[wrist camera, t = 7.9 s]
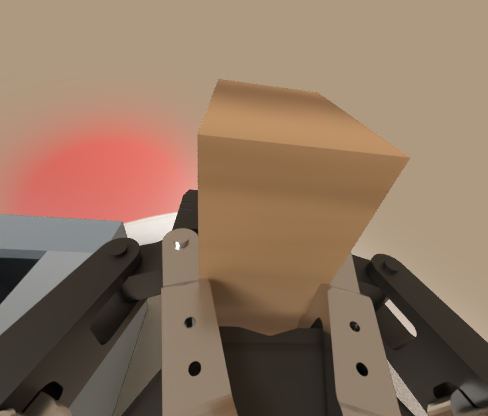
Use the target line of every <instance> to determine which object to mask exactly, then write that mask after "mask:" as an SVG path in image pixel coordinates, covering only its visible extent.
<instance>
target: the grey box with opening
mask: <svg viewBox="0 0 488 416" xmlns="http://www.w3.org/2000/svg"><path fill="white" fill-rule="evenodd" d="M117 238H127V234H126V231H125V228H124V225H123V222H122V221H107V220H90V219H89V220H88V219H73V218H55V217H39V216H22V215H4V214H0V335H1V334H2V333H3V332H4V331H5V330H7V329H8V328H9V327H10V326H11V325H12V324H13V323H15V322H16V321H17V320H18V319H19V318H20V317H21V316H23V315H24V314H25V313H26V312H27V311H28V310H29V309H31V308H32V307H33V306H34V305H35V304H36V303H37V302H39V301H40V300H41V299H42V298H43V297H44V296H45V295H47V294H48V293H49V292H50V291H51V290H52V289H53V288H55V287H56V286H57V285H58V284H59V283H60V282H61V281H62V280H64V279H65V278H66V277H67V276H68V275H69V274H70V273H72V272H73V271H74V270H75V269H76V268H77V267H78V266H80V265H81V264H82V263H83V262H84V261H85V260H86V259H88V258H89V257H90V256H91V255H92V254H93V253H94V252H96V251H97V250H98V249H99V248H100V247H101V246H102V245H104V244H105V243H107V242H109V241H111V240H113V239H117ZM147 308H148V304H147V300H146V301H145V303H144V304H143V305H142V307H141V308H140V310H139V311H138V312H137V314H136V315H135V317H134V318H133V319H132V321H131V322H130V324H129V325H128V326H127V328H126V329H125V331H124V332H123V333H122V335H121V336H120V338H119V339H118V340H117V342H116V343H115V345H114V346H113V347H112V349H111V350H110V351H109V353H108V354H107V356H106V357H105V358H104V360H103V361H102V363H101V364H100V365H99V367H98V368H97V370H96V371H95V372H94V374H93V375H92V377H91V378H90V379H89V381H88V382H87V384H86V385H85V386H84V388H83V389H82V391H81V392H80V393H79V395H78V396H77V398H76V399H75V400H74V402H73V403H72V404H71V406H70V407H69V409H70V411H71V414H72V416H113V413H114V410H115V407H116V404H117V401H118V397H119V394H120V391H121V388H122V385H123V382H124V379H125V376H126V373H127V370H128V367H129V364H130V361H131V357H132V354H133V351H134V348H135V345H136V342H137V339H138V336H139V333H140V330H141V327H142V324H143V321H144V317H145V314H146V311H147Z"/></svg>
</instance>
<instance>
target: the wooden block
mask: <svg viewBox="0 0 488 416" xmlns="http://www.w3.org/2000/svg"><path fill="white" fill-rule="evenodd" d="M409 159H410V157H409V156H407V155H406V154H404V153H403V152H401V151H400V150H399V149H397V148H396V147H394V146H393V145H391V144H390V143H389V142H387V141H386V140H384V139H383V138H381V137H380V136H379V135H377V134H376V133H374V132H373V131H371V130H370V129H369V128H367V127H366V126H364V125H363V124H362V123H360V122H359V121H357V120H356V119H354V118H353V117H352V116H350V115H349V114H347V113H346V112H345V111H343V110H341V109H340V108H339V107H337V106H336V105H334V104H333V103H332V102H330V101H329V100H327V99H326V98H325V97H323V96H322V95H320V94H319V93H317V92H309V91H302V90H295V89H288V88H280V87H273V86H265V85H258V84H251V83H243V82H235V81H229V80H222V79H218V82H217V85H216V87H215V90H214V92H213V95H212V98H211V100H210V103H209V106H208V108H207V111H206V114H205V116H204V119H203V121H202V124H201V127H200V129H199V132H198V277H199V278H207V279H209V282H210V287H211V292H212V297H213V302H214V307H215V312H216V317H217V322H218V326H230V327H241V328H245V329H248V330H251V331H254V332H258V333H261V334H264V335H268V336H271V335H275V334H279V333H282V332H286V331H289V330H293V329H296V328H297V326H298V322H299V320H300V318H301V316H302V314H306V312H307V310H308V309H309V307H310V305H311V304H312V302H313V300H314V297H315V293H316V291H317V289H318V287H319V286H320V284H321V283H323V284H330V283H331V281H332V280H333V278H334V277H335V275H336V273H337V272H338V270H339V269H340V267H341V266H342V264H343V262H344V261H345V259H346V258H347V256H348V255H349V253H350V252H351V250H352V248H353V247H354V245H355V244H356V242H357V240H358V239H359V237H360V236H361V234H362V233H363V231H364V230H365V228H366V226H367V225H368V223H369V221H370V220H371V219H372V217H373V215H374V214H375V212H376V211H377V209H378V207H379V206H380V204H381V203H382V201H383V200H384V198H385V197H386V195H387V193H388V192H389V190H390V189H391V187H392V185H393V184H394V182H395V181H396V179H397V177H398V176H399V175H400V173H401V171H402V170H403V168H404V167H405V165H406V164H407V162H408V160H409Z"/></svg>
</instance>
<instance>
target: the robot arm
mask: <svg viewBox="0 0 488 416" xmlns="http://www.w3.org/2000/svg"><path fill="white" fill-rule="evenodd" d="M160 294H161V322H162V368H161V370H160V371H159V372H158V373H157V374H156V375H155V377H154V378H153V379H152V380H151V381H150V383H149V384H148V385H147V386H146V387H145V388H144V390H143V391H142V392H141V393H140V394H139V395H138V397H137V398H136V399H135V400H134V401H133V403H132V404H131V405H130V406H129V407H128V408H127V410H126V411H125V412H124V413H123V414H122V416H414V414H413V413H412V412H411V411H410V410H409V409H408V408H407V407H406V406H405V405H404V404H403V403H402V402H401V401H400V400H399V399H398V398H397V397H396V394H395V390H394V386H393V382H392V378H391V374H390V370H389V366H388V362H387V360H388V361H389V363H390V364H391V365H392V367H393V368H394V369H395V371H396V372H397V373H398V375H399V376H400V377H401V379H402V380H403V382H404V383H405V384H406V386H407V387H408V388H409V390H410V391H411V392H412V394H413V395H414V396H415V398H416V399H417V400H418V402H419V403H420V405H421V406H422V407H423V409H424V410H425V411H426V413H427V414H428V416H488V343H487V342H486V341H485V340H484V339H483V338H482V337H481V336H480V335H479V334H478V333H476V332H475V331H474V330H473V329H472V328H471V327H470V326H469V325H468V324H467V323H466V322H465V321H464V320H462V319H461V318H460V317H459V316H458V315H457V314H456V313H455V312H454V311H453V310H451V309H450V308H449V307H448V306H447V305H446V304H445V303H444V302H443V301H442V300H441V299H439V297H437V296H436V295H435V294H434V293H433V292H432V291H431V290H430V289H429V288H428V287H427V286H425V285H424V284H423V283H422V282H421V281H420V280H419V279H418V278H417V277H416V276H415V275H413V274H412V273H411V272H410V271H409V270H408V269H407V268H406V267H405V266H404V265H403V264H402V263H400V262H399V261H398V260H396V259H395V258H393V257H390V256H388V255H385V254H376V255H374V256H373V258H372V259H371V260H367V259H364V258H361V257H357V256H355V255H352V254H351V252H350V253H349V255H348V256H347V258H346V259H345V261H344V262H343V264H342V266H341V267H340V269H339V270H338V272H337V273H336V275H335V277H334V278H333V280H332V281H331V283H330V284H323V283H321V284H320V286H319V287H318V289H317V291H316V293H315V297H314V300H313V302H312V304H311V305H310V307H309V309H308V310H307V312H306V314H302V316H301V318H300V320H299V322H298V326H297V328H296V329H293V330H289V331H286V332H282V333H279V334H275V335H271V336H268V335H264V334H261V333H258V332H254V331H251V330H248V329H245V328H241V327H230V326H218V322H217V317H216V312H215V307H214V302H213V297H212V292H211V287H210V282H209V279H207V278H199V277H198V190H189V191H187V192H186V194H184V195H183V198H182V201H181V204H180V208H179V211H178V214H177V217H176V220H175V223H174V226H173V229H172V231H170V232H169V233H167V234H166V235H165V236H164V238H163V240H161V241H159V242H156V243H152V244H146V245H141V246H139V244H138V243H137V241H135V240H133V239H131V238H117V239H113V240H111V241H109V242H107V243H105V244H104V245H102V246H101V247H100V248H99V249H98V250H97V251H96V252H94V253H93V254H92V255H91V256H90V257H89V258H88V259H86V260H85V261H84V262H83V263H82V264H81V265H80V266H78V267H77V268H76V269H75V270H74V271H73V272H72V273H70V274H69V275H68V276H67V277H66V278H65V279H64V280H62V281H61V282H60V283H59V284H58V285H57V286H56V287H55V288H53V289H52V290H51V291H50V292H49V293H48V294H47V295H45V296H44V297H43V298H42V299H41V300H40V301H39V302H37V303H36V304H35V305H34V306H33V307H32V308H31V309H29V310H28V311H27V312H26V313H25V314H24V315H23V316H21V317H20V318H19V319H18V320H17V321H16V322H15V323H13V324H12V325H11V326H10V327H9V328H8V329H7V330H5V331H4V332H3V333H2V334H1V335H0V416H72V414H71V411H70V409H69V407H70V406H71V404H72V403H73V402H74V400H75V399H76V398H77V396H78V395H79V393H80V392H81V391H82V389H83V388H84V386H85V385H86V384H87V382H88V381H89V379H90V378H91V377H92V375H93V374H94V372H95V371H96V370H97V368H98V367H99V365H100V364H101V363H102V361H103V360H104V358H105V357H106V356H107V354H108V353H109V351H110V350H111V349H112V347H113V346H114V345H115V343H116V342H117V340H118V339H119V338H120V336H121V335H122V333H123V332H124V331H125V329H126V328H127V326H128V325H129V324H130V322H131V321H132V319H133V318H134V317H135V315H136V314H137V312H138V311H139V310H140V308H141V307H142V305H143V304H144V303H145V301H146V300H147V298H149V297H152V296H156V295H160ZM389 299H390V300H391V301H392V302H393V303H394V304H395V306H396V307H397V308H398V309H399V310H400V311H401V312H402V313H403V314H404V315H405V317H406V318H407V319H408V320H409V321H410V322H411V323H412V324H413V326H414V327H415V329H416V332H417V336H416V337H414V336H413V335H411V334H410V333H409V332H408V330H407V329H406V328H405V327H404V326H403V325H402V323H401V322H400V321H399V320H398V319H397V318H396V317H395V316H394V314H393V313H392V312H391V311H390V310H389V308H388V307H387V306H386V305H385V303H386V302H387V300H389Z"/></svg>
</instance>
